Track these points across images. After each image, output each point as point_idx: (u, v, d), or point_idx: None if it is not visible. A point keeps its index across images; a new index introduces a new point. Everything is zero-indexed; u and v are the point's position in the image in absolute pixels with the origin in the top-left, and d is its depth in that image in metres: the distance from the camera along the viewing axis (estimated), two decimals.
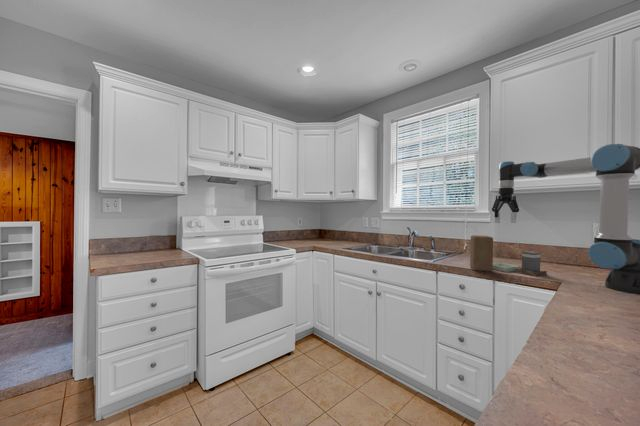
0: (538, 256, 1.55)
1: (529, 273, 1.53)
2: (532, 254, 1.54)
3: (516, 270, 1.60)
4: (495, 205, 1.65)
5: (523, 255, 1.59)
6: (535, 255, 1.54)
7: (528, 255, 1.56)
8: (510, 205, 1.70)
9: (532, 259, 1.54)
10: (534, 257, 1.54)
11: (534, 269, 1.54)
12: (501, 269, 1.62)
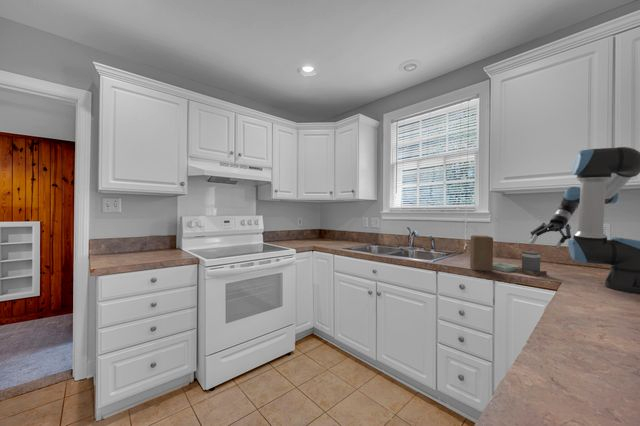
0: (538, 256, 1.55)
1: (529, 273, 1.53)
2: (532, 254, 1.54)
3: (516, 270, 1.60)
4: None
5: (523, 255, 1.59)
6: (535, 255, 1.54)
7: (528, 255, 1.56)
8: None
9: (532, 259, 1.54)
10: (534, 257, 1.54)
11: (534, 269, 1.54)
12: (501, 269, 1.62)
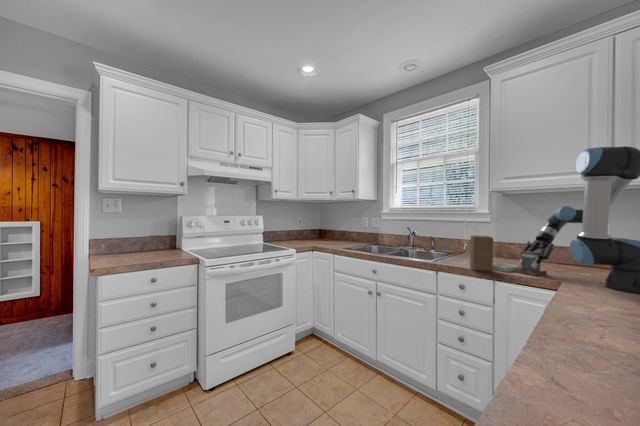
0: (538, 256, 1.55)
1: (529, 273, 1.53)
2: (532, 254, 1.54)
3: (516, 270, 1.60)
4: None
5: (523, 255, 1.59)
6: (535, 255, 1.54)
7: (528, 255, 1.56)
8: None
9: (532, 259, 1.54)
10: (534, 257, 1.54)
11: (534, 269, 1.54)
12: (501, 269, 1.62)
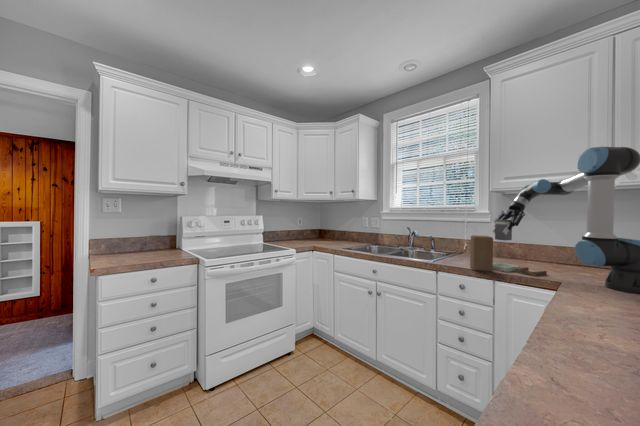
0: None
1: (529, 273, 1.53)
2: (504, 221, 1.64)
3: (516, 270, 1.60)
4: None
5: (496, 223, 1.69)
6: (506, 222, 1.65)
7: (500, 222, 1.66)
8: None
9: (504, 226, 1.64)
10: (506, 224, 1.64)
11: (505, 235, 1.65)
12: (501, 269, 1.62)
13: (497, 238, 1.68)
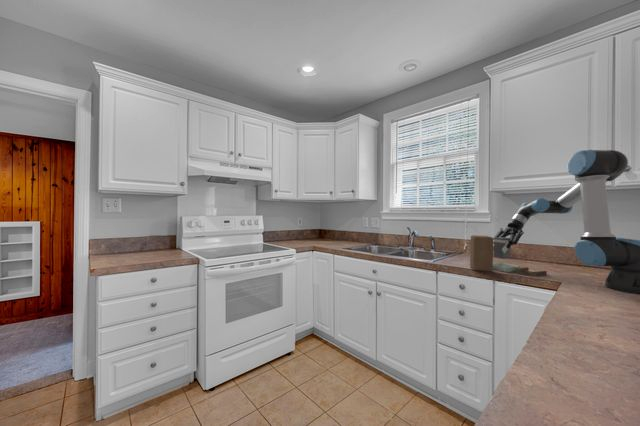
0: (508, 241, 1.66)
1: (529, 273, 1.53)
2: (502, 239, 1.65)
3: (516, 270, 1.60)
4: None
5: (495, 241, 1.70)
6: (505, 241, 1.66)
7: (499, 240, 1.67)
8: None
9: (503, 244, 1.65)
10: (504, 242, 1.65)
11: (504, 253, 1.66)
12: (501, 269, 1.62)
13: (496, 256, 1.69)
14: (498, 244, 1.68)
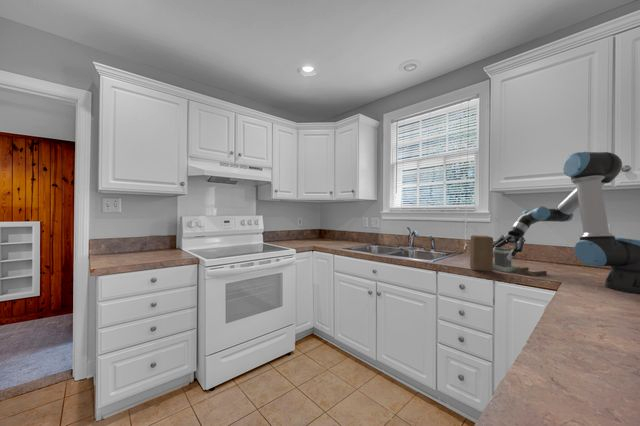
0: (509, 252, 1.66)
1: (529, 273, 1.53)
2: (503, 250, 1.65)
3: (516, 270, 1.60)
4: None
5: (495, 251, 1.69)
6: (506, 251, 1.65)
7: (500, 251, 1.67)
8: None
9: (503, 255, 1.65)
10: (505, 253, 1.65)
11: (505, 264, 1.65)
12: (501, 269, 1.62)
13: None
14: (499, 254, 1.67)
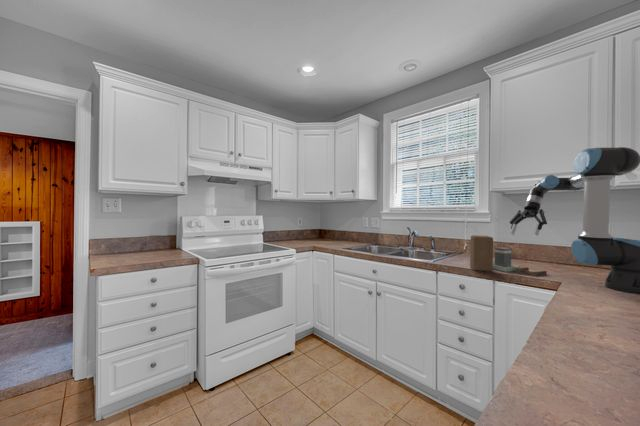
0: (509, 252, 1.66)
1: (529, 273, 1.53)
2: (503, 250, 1.65)
3: (516, 270, 1.60)
4: None
5: (495, 251, 1.69)
6: (506, 251, 1.65)
7: (500, 251, 1.67)
8: (535, 218, 1.67)
9: (503, 255, 1.65)
10: (505, 253, 1.65)
11: (505, 264, 1.65)
12: (501, 269, 1.62)
13: None
14: (499, 254, 1.67)
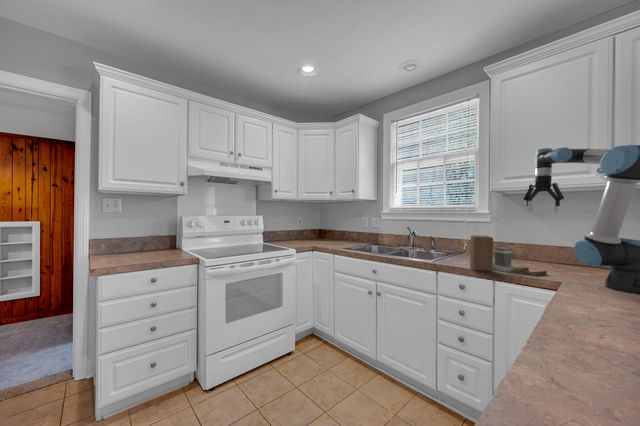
0: (509, 252, 1.66)
1: (529, 273, 1.53)
2: (503, 250, 1.65)
3: (516, 270, 1.60)
4: None
5: (495, 251, 1.69)
6: (506, 251, 1.65)
7: (500, 251, 1.67)
8: None
9: (503, 255, 1.65)
10: (505, 253, 1.65)
11: (505, 264, 1.65)
12: (501, 269, 1.62)
13: None
14: (499, 254, 1.67)
